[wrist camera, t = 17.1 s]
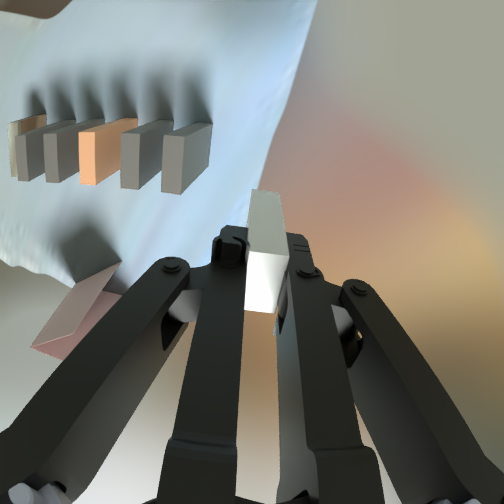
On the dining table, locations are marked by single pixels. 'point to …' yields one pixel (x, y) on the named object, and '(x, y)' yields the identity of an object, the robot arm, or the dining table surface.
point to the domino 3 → (142, 153)
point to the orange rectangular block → (102, 150)
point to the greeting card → (76, 315)
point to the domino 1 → (34, 150)
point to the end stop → (19, 128)
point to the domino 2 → (64, 150)
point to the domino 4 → (185, 156)
